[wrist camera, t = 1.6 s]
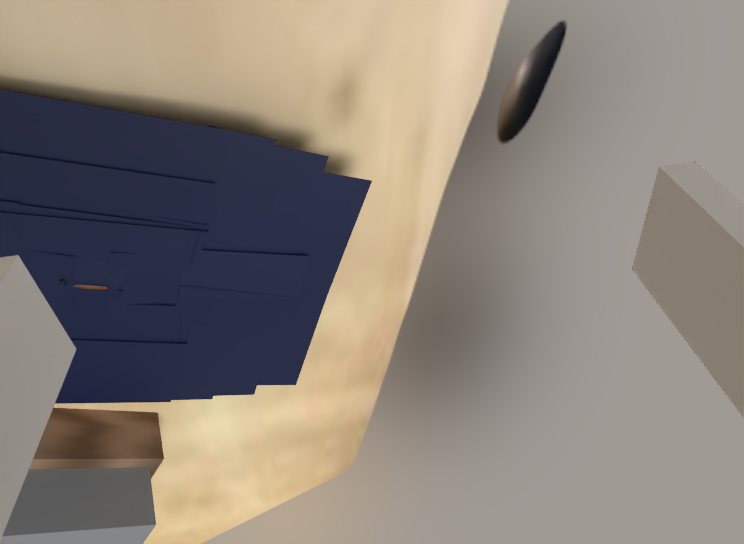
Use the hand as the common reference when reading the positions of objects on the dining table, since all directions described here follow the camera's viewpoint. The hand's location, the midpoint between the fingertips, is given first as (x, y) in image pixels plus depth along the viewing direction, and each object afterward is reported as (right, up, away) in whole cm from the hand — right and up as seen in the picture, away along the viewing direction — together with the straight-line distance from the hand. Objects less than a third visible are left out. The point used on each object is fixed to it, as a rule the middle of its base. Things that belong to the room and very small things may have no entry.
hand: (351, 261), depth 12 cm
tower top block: (-25, -19, +34) cm, 47 cm away
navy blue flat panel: (-17, +1, +26) cm, 31 cm away
